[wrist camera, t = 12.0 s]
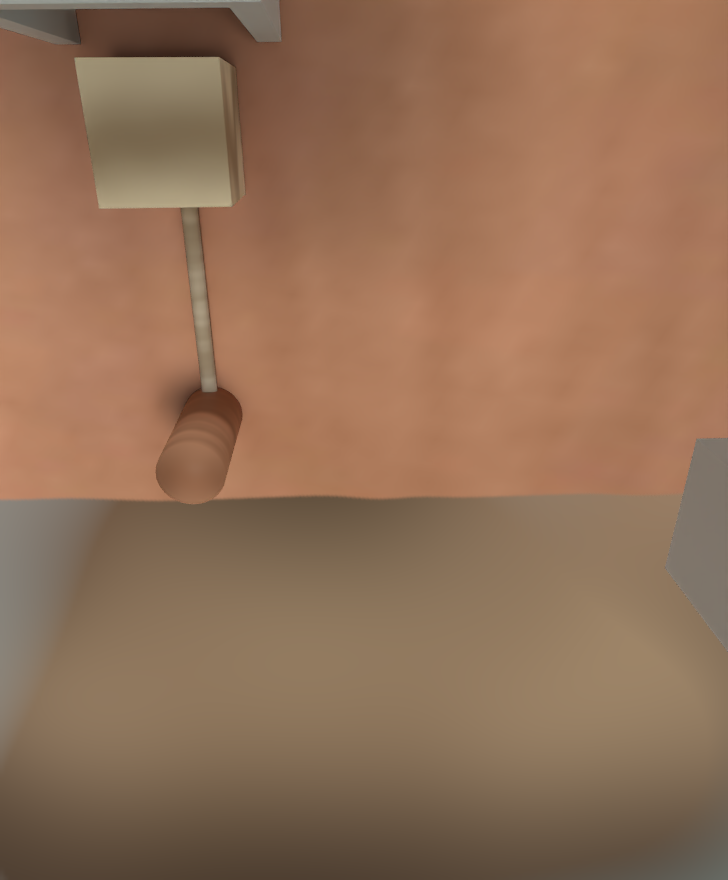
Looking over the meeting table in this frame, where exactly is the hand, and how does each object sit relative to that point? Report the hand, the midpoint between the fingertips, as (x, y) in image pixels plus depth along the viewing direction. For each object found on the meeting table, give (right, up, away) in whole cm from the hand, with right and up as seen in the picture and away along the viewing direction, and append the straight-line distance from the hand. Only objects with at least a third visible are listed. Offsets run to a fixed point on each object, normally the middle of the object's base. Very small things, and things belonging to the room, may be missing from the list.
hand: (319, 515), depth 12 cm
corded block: (-9, +11, +26) cm, 30 cm away
